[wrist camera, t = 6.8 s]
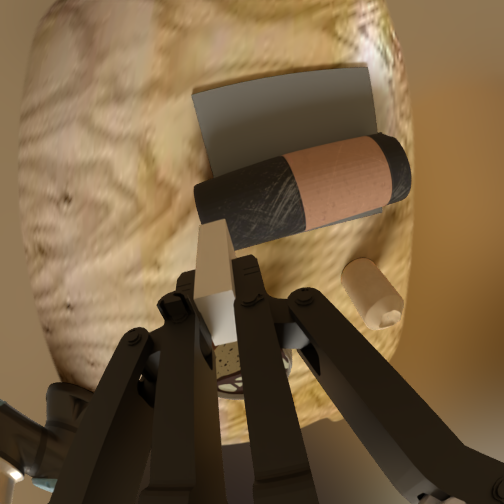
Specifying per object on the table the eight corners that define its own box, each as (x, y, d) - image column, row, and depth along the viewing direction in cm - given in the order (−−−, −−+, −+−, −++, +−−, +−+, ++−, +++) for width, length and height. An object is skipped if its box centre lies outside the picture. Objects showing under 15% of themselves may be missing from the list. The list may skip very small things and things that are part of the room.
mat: (234, 247, 35) (234, 249, 34) (191, 95, 26) (191, 94, 25) (380, 210, 35) (382, 212, 34) (365, 67, 26) (367, 67, 25)
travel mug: (223, 263, 31) (393, 210, 30) (206, 250, 24) (422, 185, 23) (205, 198, 32) (368, 152, 32) (186, 169, 25) (387, 117, 24)
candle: (341, 294, 41) (368, 343, 32) (339, 263, 38) (370, 312, 29) (374, 283, 41) (406, 328, 32) (375, 252, 38) (412, 296, 29)
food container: (226, 358, 45) (231, 410, 36) (201, 337, 42) (202, 393, 33) (294, 322, 42) (312, 375, 34) (273, 297, 40) (290, 352, 31)
